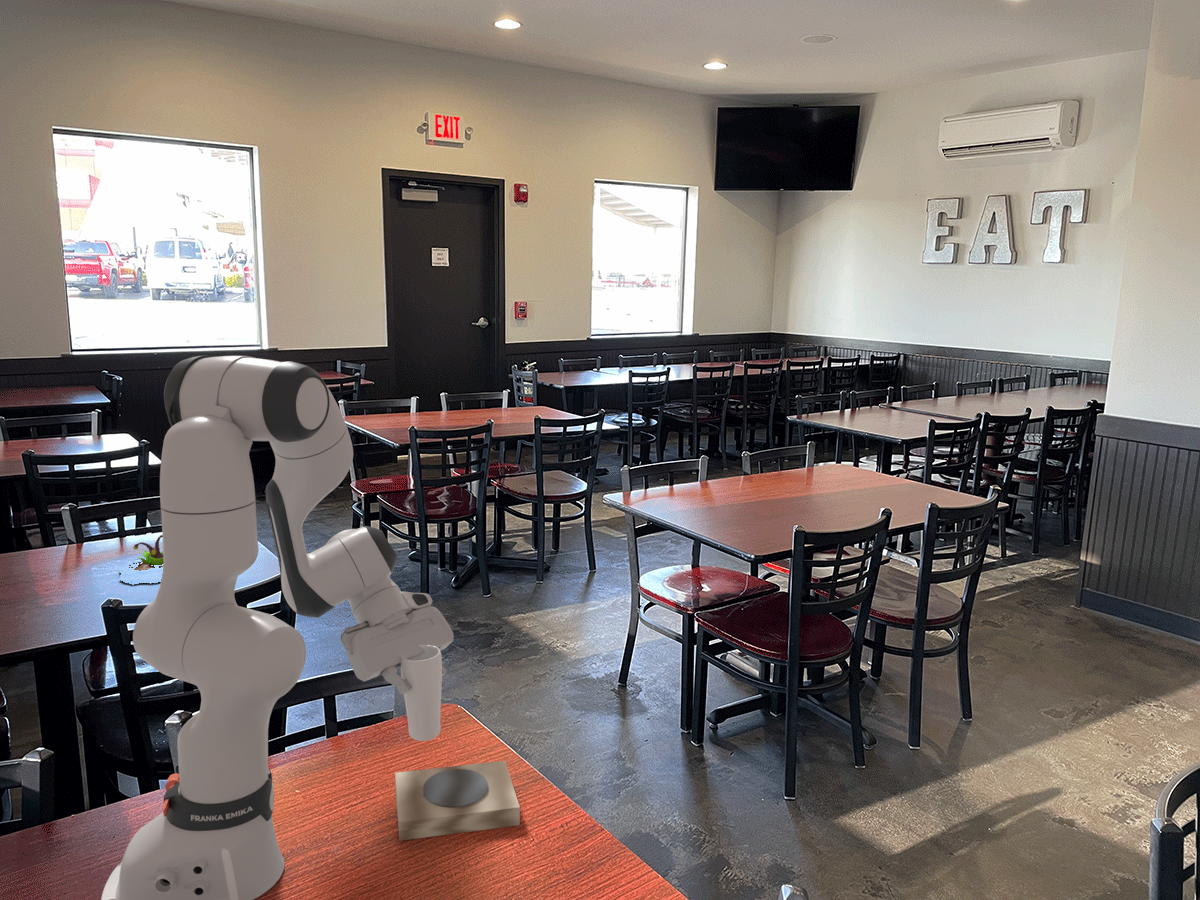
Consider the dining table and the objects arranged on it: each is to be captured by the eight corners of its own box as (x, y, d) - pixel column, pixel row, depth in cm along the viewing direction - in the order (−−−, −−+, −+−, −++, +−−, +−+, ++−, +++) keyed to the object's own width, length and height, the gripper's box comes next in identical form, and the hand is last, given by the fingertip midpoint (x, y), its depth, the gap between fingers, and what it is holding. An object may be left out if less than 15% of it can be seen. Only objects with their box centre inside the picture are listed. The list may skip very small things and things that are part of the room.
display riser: (399, 840, 130) (399, 818, 129) (395, 789, 143) (395, 769, 143) (519, 825, 135) (520, 803, 134) (504, 777, 148) (505, 757, 147)
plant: (200, 580, 243) (198, 541, 241) (119, 589, 234) (117, 548, 232) (194, 560, 260) (193, 523, 258) (119, 568, 251) (117, 530, 249)
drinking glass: (436, 746, 146) (432, 662, 143) (398, 742, 147) (393, 659, 144) (450, 726, 153) (446, 645, 150) (413, 722, 154) (409, 642, 151)
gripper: (345, 621, 142) (387, 695, 138) (435, 591, 158) (475, 656, 155) (327, 641, 145) (367, 714, 141) (417, 610, 162) (455, 674, 158)
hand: (424, 683), depth 148 cm, fingers closed on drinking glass, 7 cm apart
